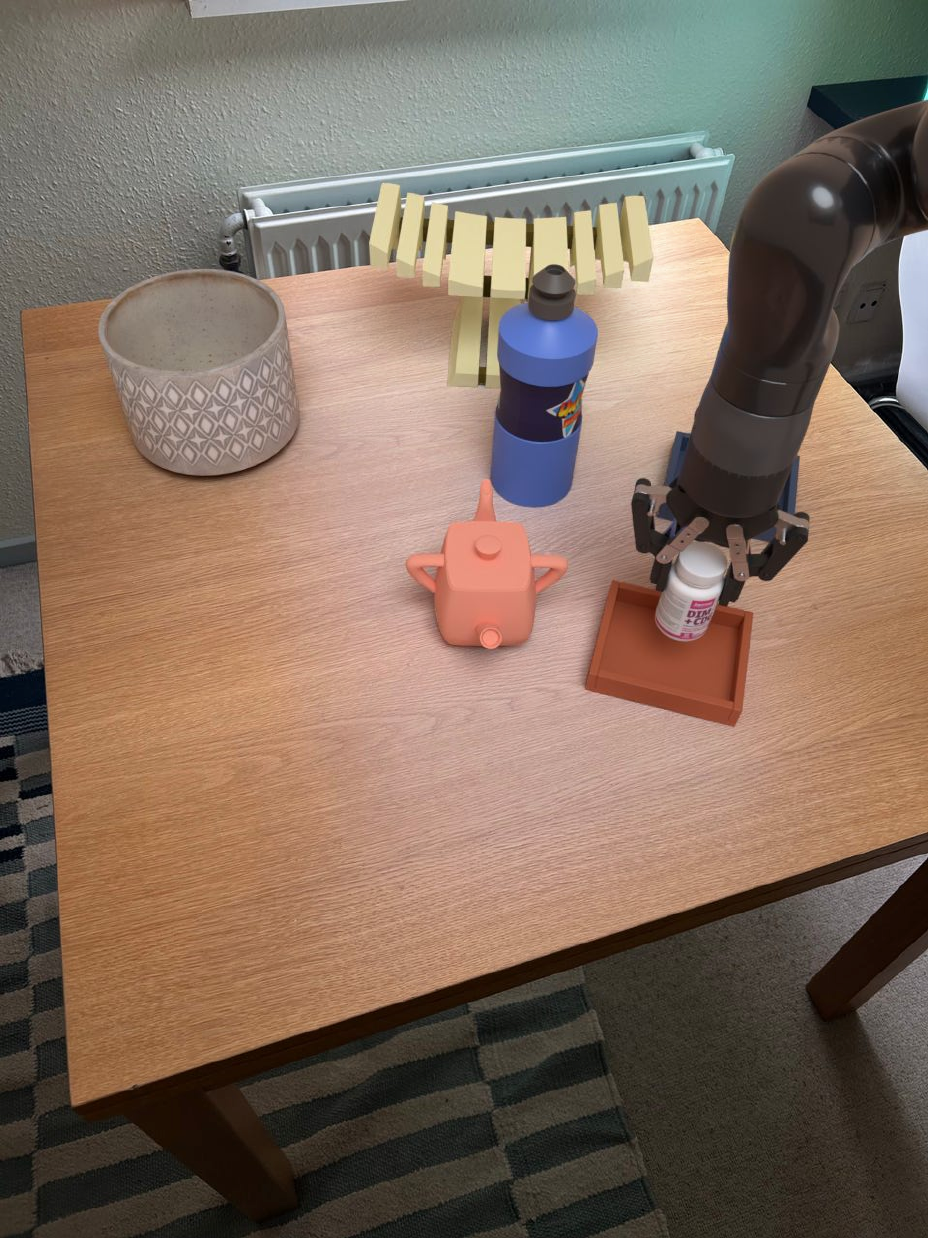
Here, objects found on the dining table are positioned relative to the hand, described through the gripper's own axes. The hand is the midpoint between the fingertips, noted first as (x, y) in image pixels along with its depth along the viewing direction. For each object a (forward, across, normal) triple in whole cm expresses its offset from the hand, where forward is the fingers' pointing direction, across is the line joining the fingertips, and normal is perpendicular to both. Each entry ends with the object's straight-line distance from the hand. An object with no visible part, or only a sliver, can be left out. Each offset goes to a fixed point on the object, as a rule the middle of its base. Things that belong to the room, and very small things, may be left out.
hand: (692, 590), depth 78 cm
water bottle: (+10, -18, +20) cm, 29 cm away
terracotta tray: (+10, 0, 0) cm, 10 cm away
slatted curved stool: (+10, -27, +42) cm, 51 cm away
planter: (+10, -54, +17) cm, 58 cm away
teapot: (+10, -18, 0) cm, 21 cm away
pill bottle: (+5, 0, 0) cm, 5 cm away
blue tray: (+10, +3, +24) cm, 26 cm away
